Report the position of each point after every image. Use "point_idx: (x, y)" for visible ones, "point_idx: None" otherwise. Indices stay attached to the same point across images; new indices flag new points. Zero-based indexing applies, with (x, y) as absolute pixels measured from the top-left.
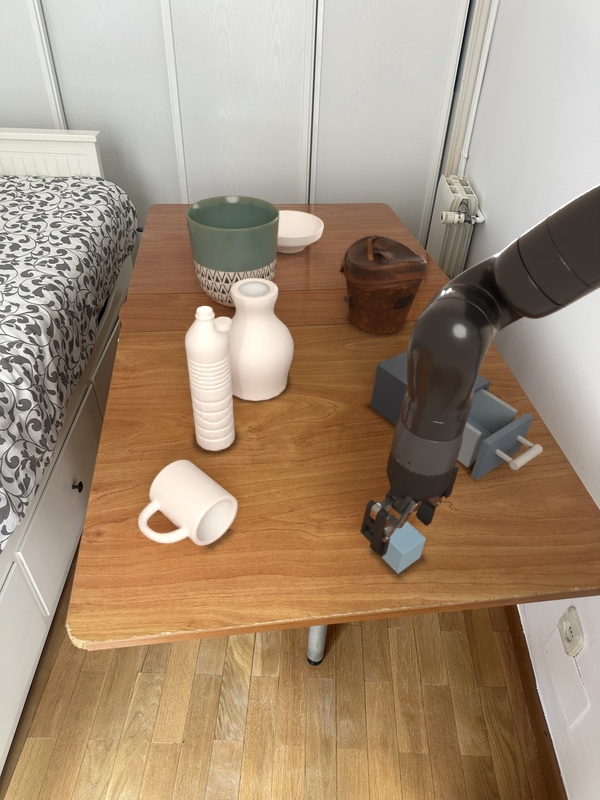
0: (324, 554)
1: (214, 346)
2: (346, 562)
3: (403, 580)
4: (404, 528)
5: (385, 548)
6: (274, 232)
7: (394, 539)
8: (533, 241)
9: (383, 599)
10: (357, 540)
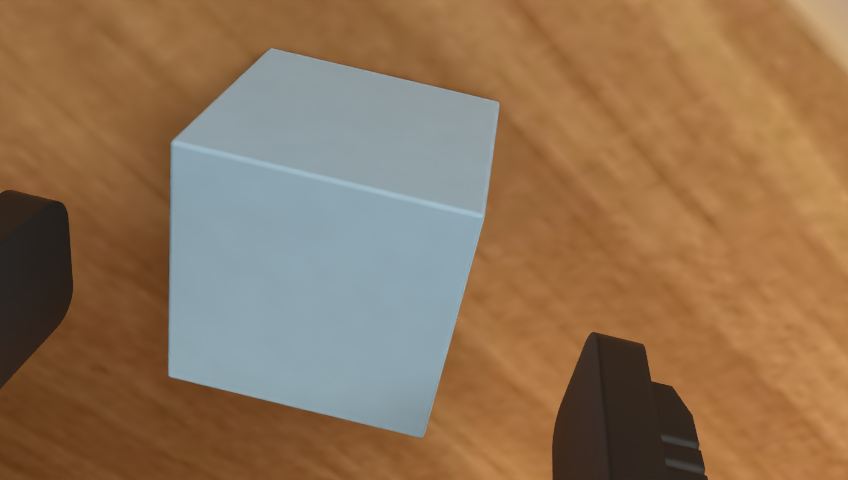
0: None
1: None
2: None
3: (519, 42)
4: (243, 324)
5: (644, 424)
6: None
7: (397, 335)
8: None
9: (756, 72)
10: (458, 392)
